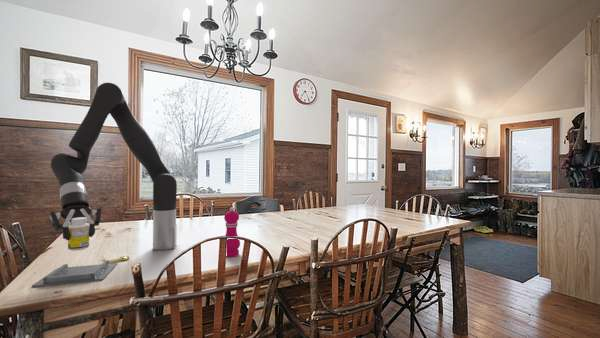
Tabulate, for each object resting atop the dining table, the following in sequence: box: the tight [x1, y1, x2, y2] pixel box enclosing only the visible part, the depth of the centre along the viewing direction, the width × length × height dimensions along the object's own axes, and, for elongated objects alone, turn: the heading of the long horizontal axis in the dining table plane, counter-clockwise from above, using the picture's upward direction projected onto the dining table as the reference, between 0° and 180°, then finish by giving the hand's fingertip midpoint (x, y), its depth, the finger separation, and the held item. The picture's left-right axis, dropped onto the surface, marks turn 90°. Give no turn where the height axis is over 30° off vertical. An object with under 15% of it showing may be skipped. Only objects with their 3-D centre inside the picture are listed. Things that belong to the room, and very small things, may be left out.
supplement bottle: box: [67, 217, 90, 252], centre depth 89 cm, size 6×6×10 cm
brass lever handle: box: [107, 255, 130, 264], centre depth 103 cm, size 7×3×1 cm, turn 143°
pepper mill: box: [223, 206, 241, 258], centre depth 112 cm, size 7×7×20 cm
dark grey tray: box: [31, 260, 118, 288], centre depth 89 cm, size 18×14×2 cm
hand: (80, 237), depth 88 cm, fingers closed on supplement bottle, 5 cm apart
